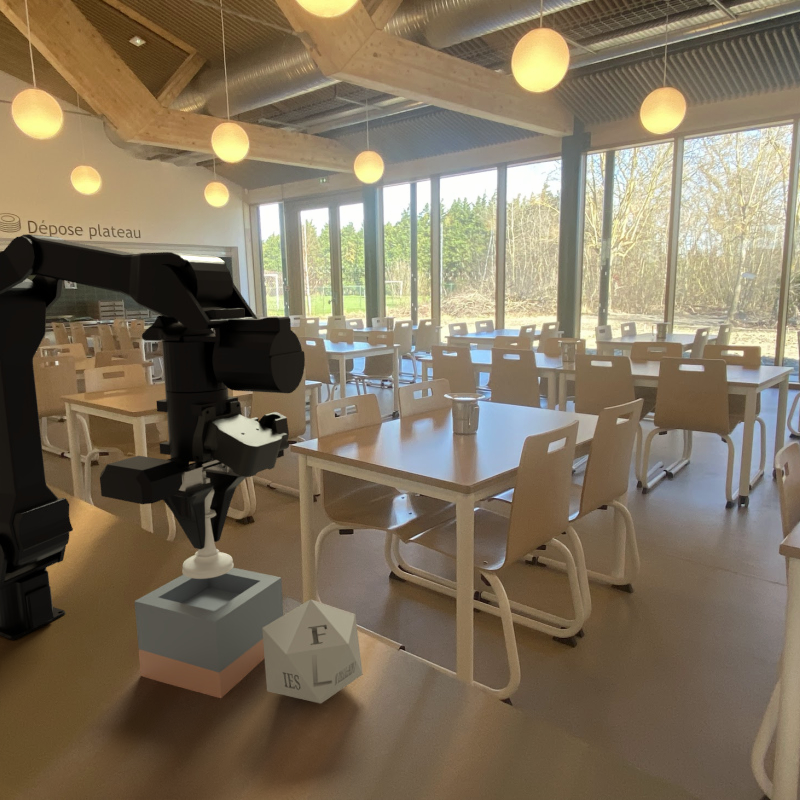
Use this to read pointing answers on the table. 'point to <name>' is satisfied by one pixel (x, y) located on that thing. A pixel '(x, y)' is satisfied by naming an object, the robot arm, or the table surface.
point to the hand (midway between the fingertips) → (206, 544)
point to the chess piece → (207, 550)
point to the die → (311, 652)
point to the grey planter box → (206, 629)
